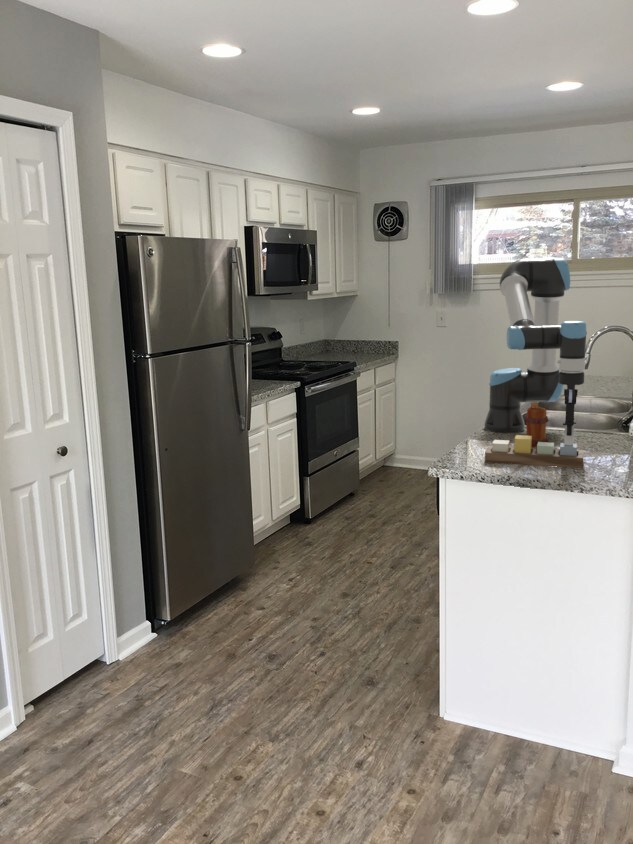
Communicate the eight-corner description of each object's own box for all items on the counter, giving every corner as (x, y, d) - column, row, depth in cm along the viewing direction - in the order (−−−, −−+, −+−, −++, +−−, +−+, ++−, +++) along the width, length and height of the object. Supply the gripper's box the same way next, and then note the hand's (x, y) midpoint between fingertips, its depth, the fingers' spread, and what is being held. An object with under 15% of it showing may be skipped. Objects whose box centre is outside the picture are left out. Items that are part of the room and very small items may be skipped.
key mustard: (515, 449, 238) (516, 435, 237) (531, 450, 237) (531, 435, 235) (514, 453, 234) (514, 438, 233) (530, 454, 232) (530, 439, 231)
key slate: (560, 457, 234) (560, 442, 233) (576, 458, 232) (577, 443, 231) (559, 461, 229) (560, 446, 228) (576, 462, 228) (576, 447, 226)
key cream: (493, 454, 241) (494, 439, 240) (509, 455, 239) (509, 440, 238) (492, 458, 237) (492, 443, 235) (507, 459, 235) (508, 444, 234)
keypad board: (488, 455, 244) (488, 445, 244) (582, 460, 234) (583, 449, 233) (484, 462, 235) (485, 452, 234) (582, 468, 225) (583, 457, 224)
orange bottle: (549, 452, 245) (550, 408, 242) (524, 451, 247) (525, 408, 244) (544, 441, 259) (546, 400, 256) (521, 441, 261) (522, 400, 258)
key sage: (537, 456, 236) (538, 441, 235) (553, 457, 235) (554, 442, 233) (536, 460, 232) (537, 445, 231) (552, 461, 230) (553, 446, 229)
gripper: (559, 368, 232) (557, 439, 237) (558, 374, 220) (555, 449, 225) (584, 368, 229) (581, 440, 234) (584, 374, 217) (581, 450, 222)
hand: (568, 444), depth 229 cm, fingers closed
